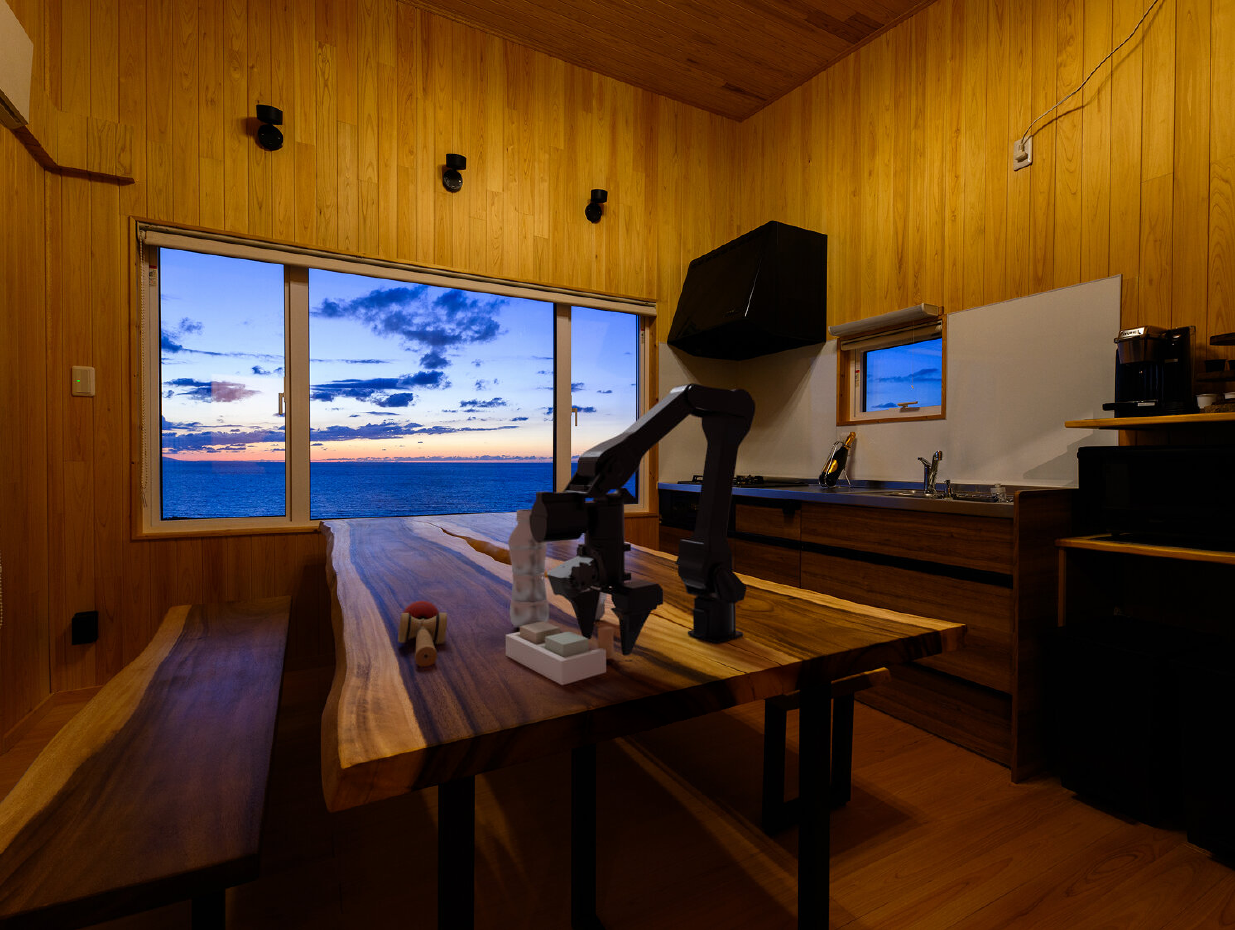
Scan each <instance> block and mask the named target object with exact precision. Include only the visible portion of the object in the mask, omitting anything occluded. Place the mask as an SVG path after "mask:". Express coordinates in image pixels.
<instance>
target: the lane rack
mask: <svg viewBox="0 0 1235 930" xmlns="http://www.w3.org/2000/svg"><path fill="white" fill-rule="evenodd" d="M505 656H506V657H508V658H510V659H512V660H513V661H515V662H518V663H519V664H521V665H523V666H524V667H527V668H528V669H531V670H532V671H534V672H536V673H538V674H540V675H542V676H544V677H546V678H547V679H549V680H551V681H553V682H555V683H558V684H559V685H561V686H564V685H567V684H571V683H575V682H578V681H580V680H584V679H585V680H586V679H588V678H591V677H594V676H598V675H601V674H605V673H607V659H606V650H605V649H603V648H599V649H598V648H596V649H593V650H588V652H584V653H580V654H576V655H572V656H568V657H565V658H563V657H561V656H559V655H557V654H555V653H553V652H550V651H548V650H546V649H545V643H542V644H537V645H535V644H533V643H531V642H529V641H527V640H524V639H522V638H520V631H518V632H513V633H508V634H505Z"/></svg>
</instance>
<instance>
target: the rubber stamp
mask: <svg viewBox="0 0 1235 930" xmlns="http://www.w3.org/2000/svg"><path fill="white" fill-rule="evenodd" d="M614 647H615V646H614V628H613V626H607V625H606V626H599V627H598V628H597V649H599V648H603V649H605V650H606V660H611V659H613V658H614V656H615V655H614V651H615V650H614V649H615V648H614ZM545 649H546V650H548V651H550V652H553V653H555V654H557V655H559V656H561V657H563V658H565V657H568V656H572V655H576V654H580V653H584V652H588V651H589V640H588V638H585V637H583V636H582V635H580V634H577V633H575V632H572V631H565V632H560V634H555V635H551V636H547V637H545Z"/></svg>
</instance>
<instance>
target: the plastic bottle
mask: <svg viewBox="0 0 1235 930" xmlns="http://www.w3.org/2000/svg"><path fill="white" fill-rule="evenodd" d="M531 511H532V508H529V509H527V508H525V509H523V508H522V509H517V510H516V518H515V521H516V522H517V525H516V527H515V528H514V529H513V530H512V532H511V534H510V536H509V538H508V542H507V544H508V550H509V556H510V561H511V562H510V563H511V572H512V588H511V589H512V590H511V601H510V607H509V608H510V609H509V616H510V617H509V618H510V621H511V623H512V625H513V626H514V627H516V628H519V629H520V626H523V625H528V624H533V623H538V622H542V621H544V622H547V623H548V621H549V616H550V606H549V601H548V598H547V591H546V590H547V588H546V582H545V581H546V580H545V578H546V576H545V575H546V573H545V572H546V557H547V546H548V542H544V543H537V542H536V541H535V540H534V538H533V536H532V533H531V529H530V521H529V516H530V515H531Z"/></svg>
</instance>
